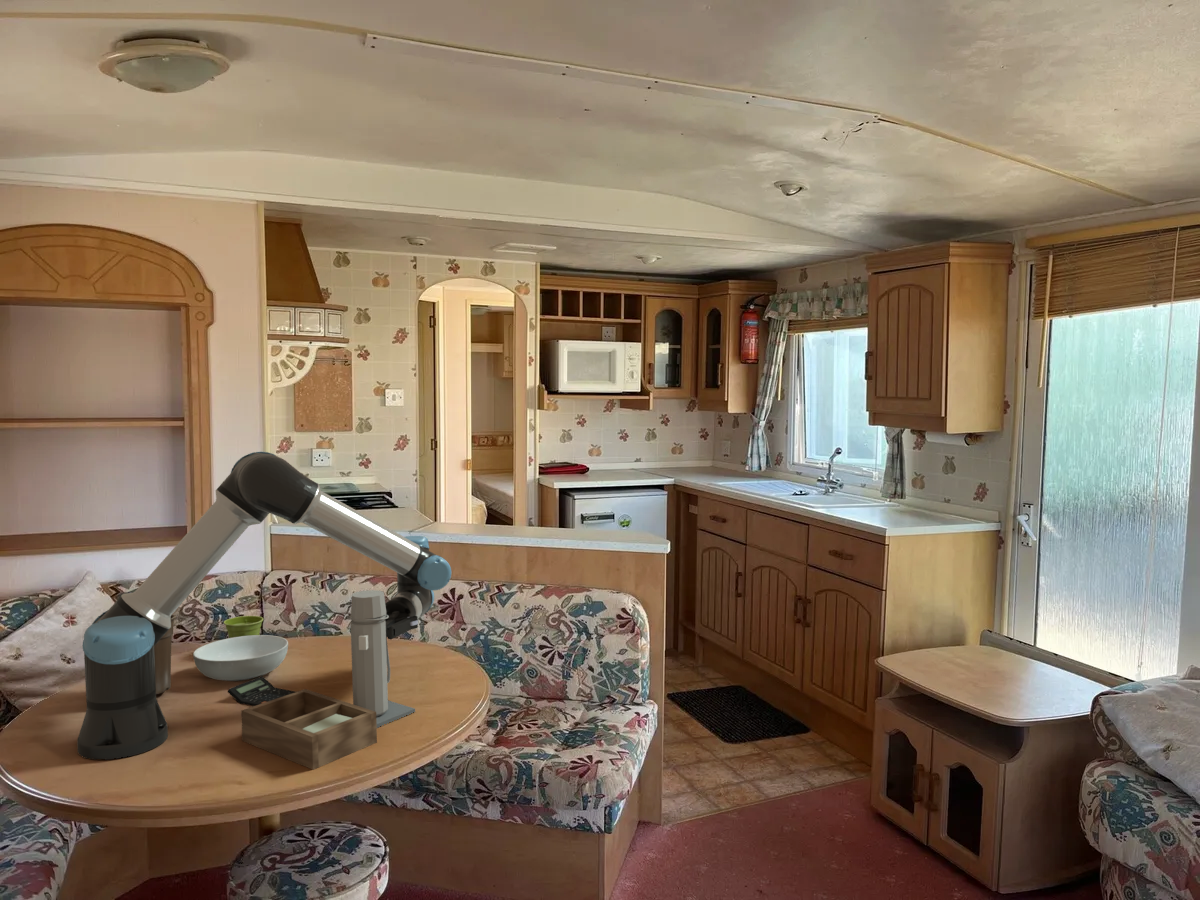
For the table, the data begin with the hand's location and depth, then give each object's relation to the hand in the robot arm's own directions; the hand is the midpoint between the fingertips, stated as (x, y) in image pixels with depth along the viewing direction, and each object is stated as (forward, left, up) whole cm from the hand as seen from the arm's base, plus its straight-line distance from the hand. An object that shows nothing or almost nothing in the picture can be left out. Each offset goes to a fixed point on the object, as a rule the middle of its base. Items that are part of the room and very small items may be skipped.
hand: (362, 643), depth 171 cm
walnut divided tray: (-11, +2, -17) cm, 20 cm away
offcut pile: (-12, -4, -17) cm, 21 cm away
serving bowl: (+4, +49, -17) cm, 52 cm away
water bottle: (+5, +3, -16) cm, 17 cm away
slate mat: (+5, +3, -17) cm, 18 cm away
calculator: (-2, +31, -17) cm, 36 cm away
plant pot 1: (-18, +54, -16) cm, 59 cm away
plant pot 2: (+14, +64, -17) cm, 68 cm away
